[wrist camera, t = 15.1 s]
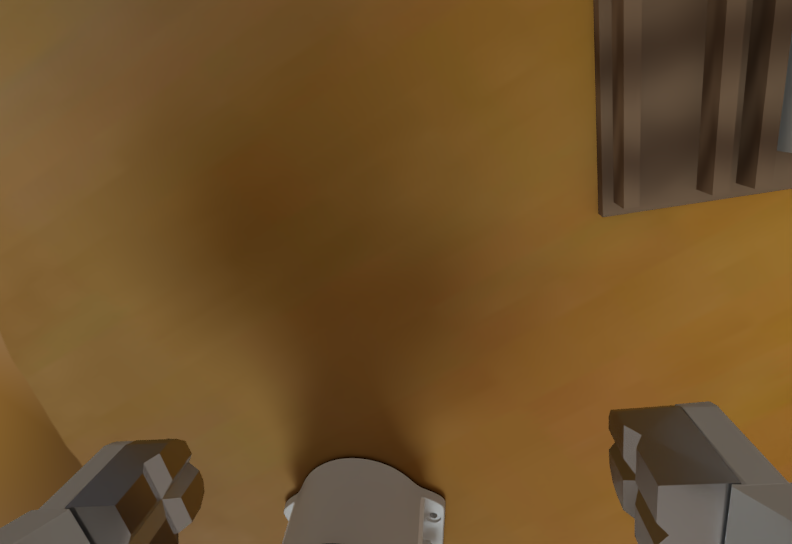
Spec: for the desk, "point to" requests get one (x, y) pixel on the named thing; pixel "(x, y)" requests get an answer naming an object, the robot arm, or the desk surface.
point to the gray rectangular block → (786, 111)
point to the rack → (689, 101)
